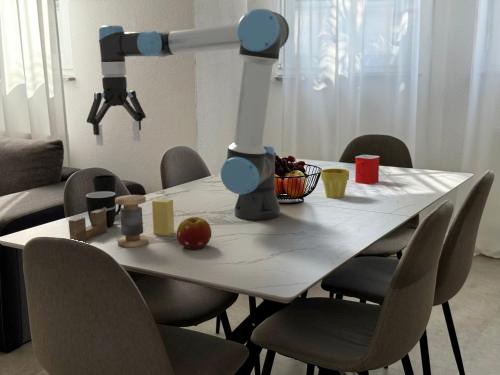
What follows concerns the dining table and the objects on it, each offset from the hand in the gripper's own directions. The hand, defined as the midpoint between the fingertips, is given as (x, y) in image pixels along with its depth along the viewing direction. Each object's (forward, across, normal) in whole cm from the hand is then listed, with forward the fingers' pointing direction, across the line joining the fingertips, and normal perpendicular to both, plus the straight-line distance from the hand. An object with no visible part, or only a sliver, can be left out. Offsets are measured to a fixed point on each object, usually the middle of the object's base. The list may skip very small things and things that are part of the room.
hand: (118, 143), depth 195 cm
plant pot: (+26, -72, +31) cm, 82 cm away
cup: (+25, 0, -11) cm, 27 cm away
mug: (+25, +9, +5) cm, 27 cm away
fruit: (+25, +4, +43) cm, 50 cm away
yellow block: (+25, +2, +26) cm, 36 cm away
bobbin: (+25, +14, +28) cm, 40 cm away
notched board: (+25, +20, +14) cm, 35 cm away
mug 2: (+26, -100, +24) cm, 106 cm away
